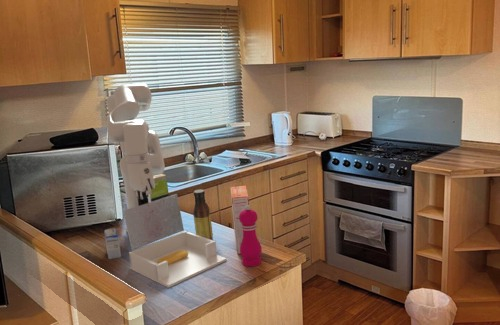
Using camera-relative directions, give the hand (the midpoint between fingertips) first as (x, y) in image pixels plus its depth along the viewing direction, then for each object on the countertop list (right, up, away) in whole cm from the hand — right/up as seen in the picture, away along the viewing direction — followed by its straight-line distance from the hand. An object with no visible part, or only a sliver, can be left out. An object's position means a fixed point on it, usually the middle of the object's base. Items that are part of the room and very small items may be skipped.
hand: (144, 208), depth 169 cm
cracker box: (+35, -14, +3) cm, 38 cm away
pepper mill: (+38, -17, -11) cm, 43 cm away
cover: (+5, -4, -4) cm, 7 cm away
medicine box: (-12, -17, +4) cm, 21 cm away
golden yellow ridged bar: (+11, -17, -7) cm, 22 cm away
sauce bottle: (+20, -13, +11) cm, 27 cm away
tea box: (-10, -4, +63) cm, 64 cm away
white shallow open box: (+13, -18, -8) cm, 23 cm away
